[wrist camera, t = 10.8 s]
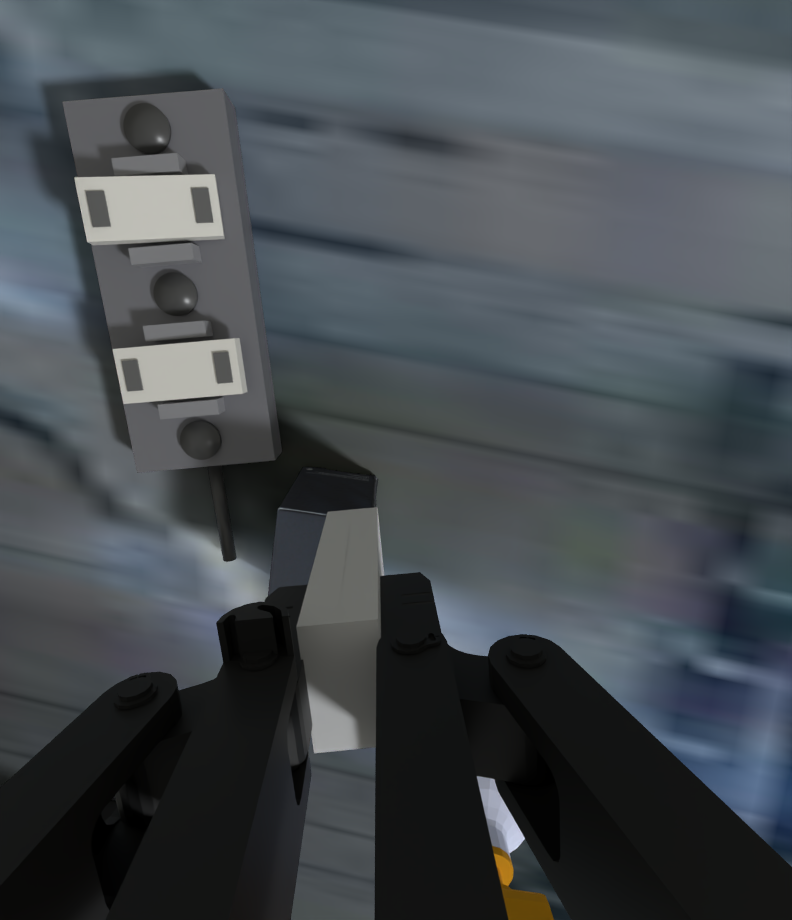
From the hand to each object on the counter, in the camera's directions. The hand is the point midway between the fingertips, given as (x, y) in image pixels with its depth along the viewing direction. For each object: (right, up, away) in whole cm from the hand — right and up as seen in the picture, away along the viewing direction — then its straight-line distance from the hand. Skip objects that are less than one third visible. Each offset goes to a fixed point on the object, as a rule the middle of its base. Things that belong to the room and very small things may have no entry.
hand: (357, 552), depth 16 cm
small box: (-4, -3, +28) cm, 28 cm away
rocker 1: (-14, +18, +18) cm, 29 cm away
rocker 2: (-13, +9, +20) cm, 25 cm away
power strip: (-13, +11, +24) cm, 30 cm away
